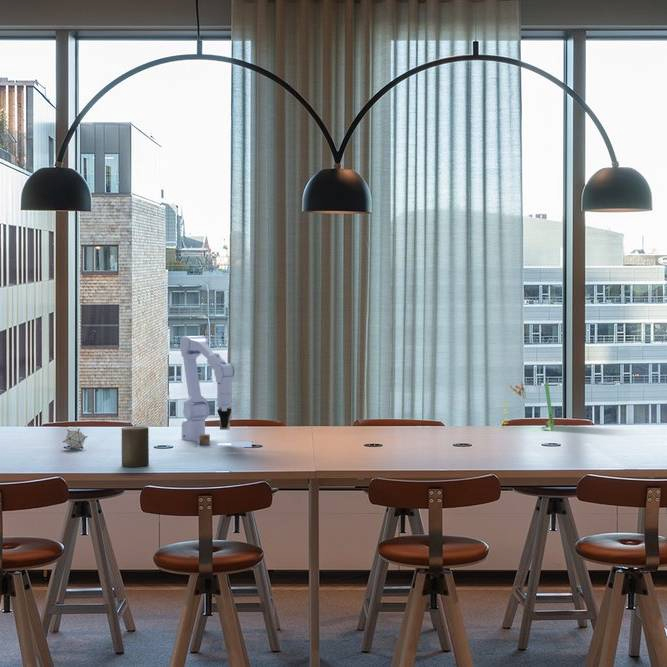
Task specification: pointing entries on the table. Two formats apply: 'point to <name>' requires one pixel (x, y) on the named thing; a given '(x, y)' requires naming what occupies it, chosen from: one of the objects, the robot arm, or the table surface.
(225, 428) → the maple cube
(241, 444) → the board
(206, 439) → the walnut cube
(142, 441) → the pillar candle
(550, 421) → the toy game set
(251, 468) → the table surface
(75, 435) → the beige spiky star ball
